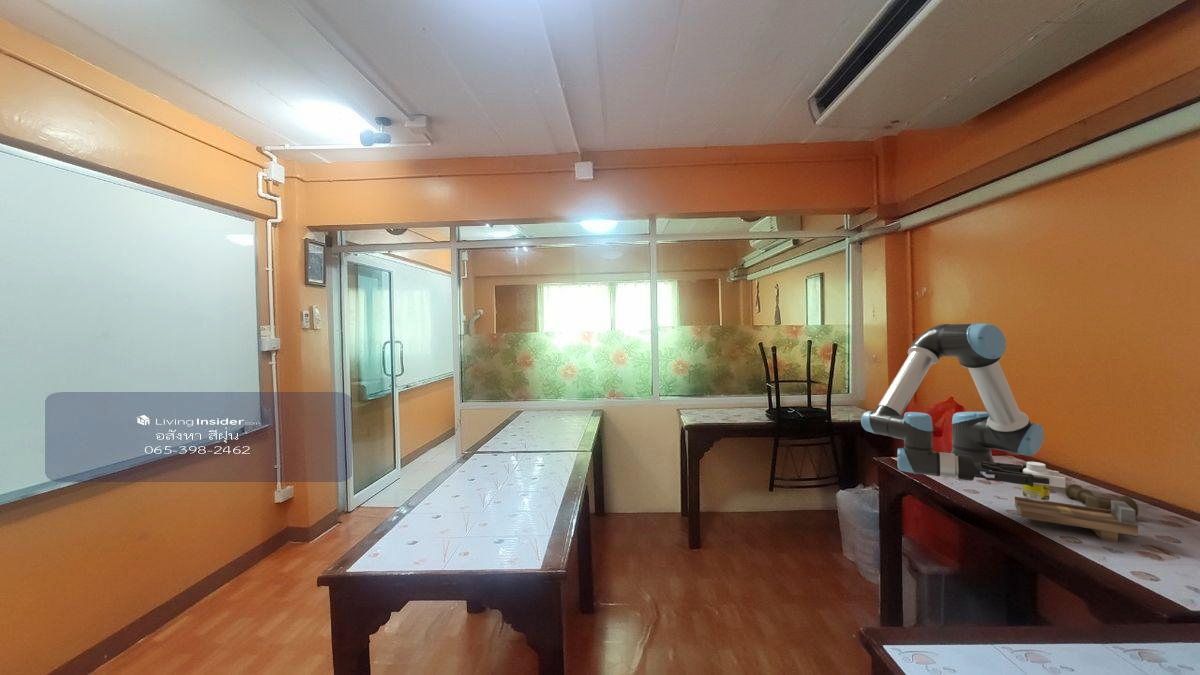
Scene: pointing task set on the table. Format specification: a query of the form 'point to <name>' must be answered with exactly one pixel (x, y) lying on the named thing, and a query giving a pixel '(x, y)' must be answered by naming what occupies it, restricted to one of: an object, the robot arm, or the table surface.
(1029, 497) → the supplement bottle
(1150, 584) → the table surface
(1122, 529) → the wooden rack
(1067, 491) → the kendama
